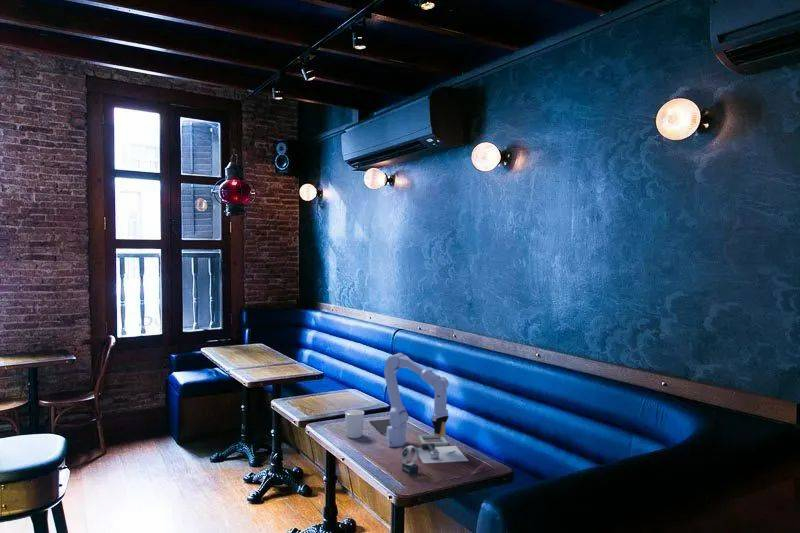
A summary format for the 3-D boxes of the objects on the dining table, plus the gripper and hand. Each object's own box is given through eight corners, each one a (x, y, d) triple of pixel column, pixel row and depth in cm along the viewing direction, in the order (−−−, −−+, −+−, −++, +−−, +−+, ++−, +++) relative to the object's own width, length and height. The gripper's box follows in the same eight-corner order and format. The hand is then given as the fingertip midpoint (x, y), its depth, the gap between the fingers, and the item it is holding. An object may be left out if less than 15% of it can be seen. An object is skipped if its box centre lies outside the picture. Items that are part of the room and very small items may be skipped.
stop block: (441, 437, 255) (442, 424, 255) (434, 435, 257) (434, 422, 257) (445, 434, 259) (445, 422, 259) (437, 433, 261) (438, 420, 261)
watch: (398, 471, 234) (399, 446, 233) (413, 467, 238) (413, 442, 238) (406, 476, 229) (406, 450, 229) (421, 472, 234) (421, 446, 234)
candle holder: (348, 439, 271) (349, 416, 271) (341, 433, 280) (342, 410, 280) (366, 437, 276) (367, 413, 276) (359, 431, 285) (359, 408, 284)
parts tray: (424, 448, 262) (424, 443, 262) (418, 440, 273) (418, 435, 273) (447, 447, 264) (447, 442, 264) (440, 439, 276) (441, 434, 276)
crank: (442, 458, 246) (442, 452, 246) (429, 459, 245) (429, 452, 245) (433, 447, 260) (433, 441, 260) (421, 447, 259) (421, 441, 259)
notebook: (369, 423, 299) (382, 436, 280) (369, 420, 299) (382, 433, 279) (391, 421, 304) (405, 433, 284) (391, 418, 304) (405, 430, 284)
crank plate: (423, 465, 241) (423, 463, 241) (413, 449, 260) (413, 447, 260) (468, 462, 245) (468, 460, 245) (455, 447, 264) (455, 445, 264)
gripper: (441, 408, 249) (440, 438, 250) (454, 401, 262) (453, 429, 263) (427, 406, 253) (426, 435, 253) (440, 399, 266) (439, 426, 266)
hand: (439, 432), depth 258 cm, fingers closed on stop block, 4 cm apart
